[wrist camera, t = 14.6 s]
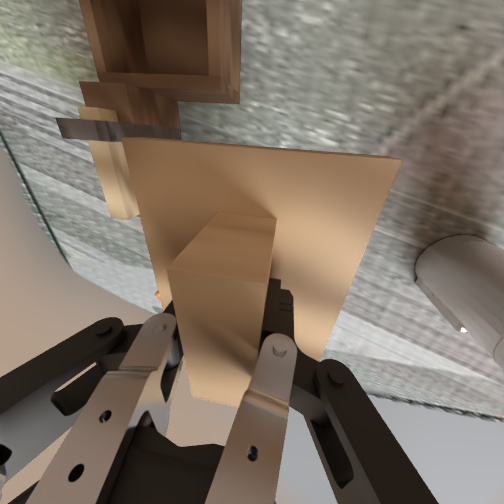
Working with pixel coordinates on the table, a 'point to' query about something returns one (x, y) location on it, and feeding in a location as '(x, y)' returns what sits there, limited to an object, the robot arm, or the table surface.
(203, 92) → the brown wooden box
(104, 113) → the light wooden plank
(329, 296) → the lid
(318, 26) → the table surface
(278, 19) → the table surface
